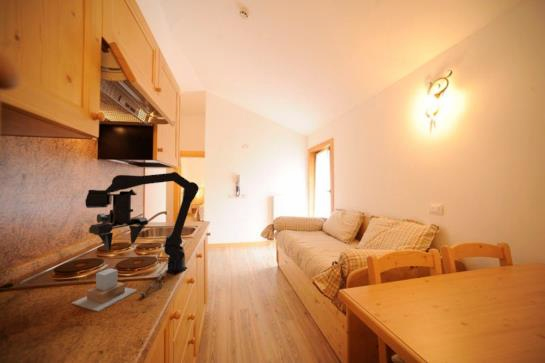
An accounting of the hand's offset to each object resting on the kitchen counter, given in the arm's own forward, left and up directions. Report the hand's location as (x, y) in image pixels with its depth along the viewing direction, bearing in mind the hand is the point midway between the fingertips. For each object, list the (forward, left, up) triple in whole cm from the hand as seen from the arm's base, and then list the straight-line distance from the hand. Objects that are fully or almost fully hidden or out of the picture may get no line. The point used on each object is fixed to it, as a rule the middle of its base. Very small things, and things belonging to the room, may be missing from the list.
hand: (121, 246), depth 78 cm
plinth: (+10, +8, -13) cm, 18 cm away
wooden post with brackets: (+2, +19, -13) cm, 23 cm away
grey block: (+10, +8, -10) cm, 16 cm away
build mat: (+10, +8, -13) cm, 18 cm away
